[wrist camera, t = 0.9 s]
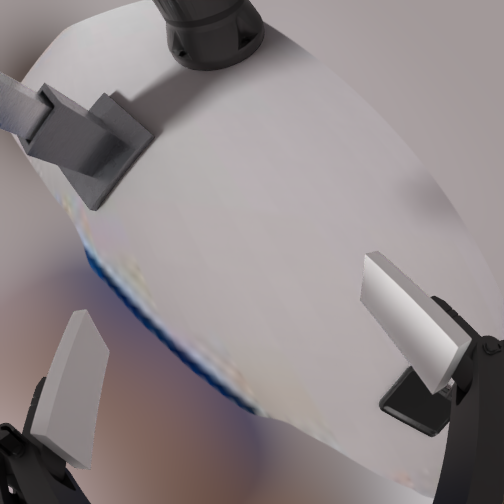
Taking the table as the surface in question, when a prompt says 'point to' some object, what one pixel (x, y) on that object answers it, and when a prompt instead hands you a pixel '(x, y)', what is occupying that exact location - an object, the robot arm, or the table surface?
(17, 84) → the column
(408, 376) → the phone
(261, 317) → the table surface
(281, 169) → the table surface
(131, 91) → the table surface
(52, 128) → the jack stand base
